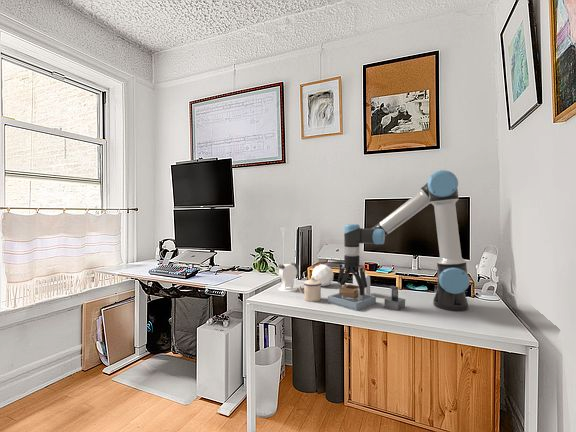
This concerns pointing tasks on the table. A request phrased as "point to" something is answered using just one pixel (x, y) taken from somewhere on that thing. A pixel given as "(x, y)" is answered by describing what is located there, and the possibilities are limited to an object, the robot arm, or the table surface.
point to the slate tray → (352, 301)
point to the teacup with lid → (311, 290)
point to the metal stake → (394, 300)
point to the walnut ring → (349, 291)
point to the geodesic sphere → (323, 274)
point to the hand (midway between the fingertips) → (351, 299)
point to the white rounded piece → (287, 277)
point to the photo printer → (367, 289)
